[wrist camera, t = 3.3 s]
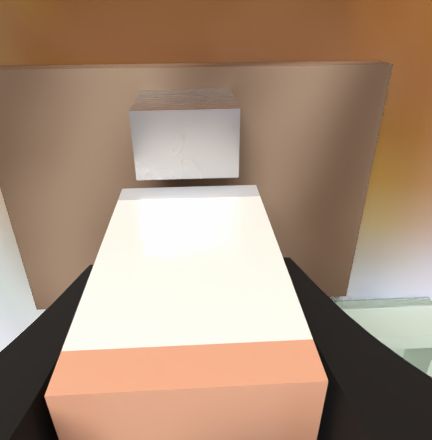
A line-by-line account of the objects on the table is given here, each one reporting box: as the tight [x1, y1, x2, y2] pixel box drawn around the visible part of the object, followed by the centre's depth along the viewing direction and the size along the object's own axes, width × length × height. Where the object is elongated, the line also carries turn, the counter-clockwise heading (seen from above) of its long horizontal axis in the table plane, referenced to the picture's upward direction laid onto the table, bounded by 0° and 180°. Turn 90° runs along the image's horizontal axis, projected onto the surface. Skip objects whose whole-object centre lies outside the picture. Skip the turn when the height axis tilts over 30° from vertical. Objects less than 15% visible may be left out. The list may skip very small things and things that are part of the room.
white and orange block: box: [44, 185, 328, 440], centre depth 9 cm, size 4×4×7 cm
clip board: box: [0, 61, 393, 309], centre depth 14 cm, size 14×10×4 cm
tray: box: [334, 297, 432, 377], centre depth 21 cm, size 12×12×2 cm
